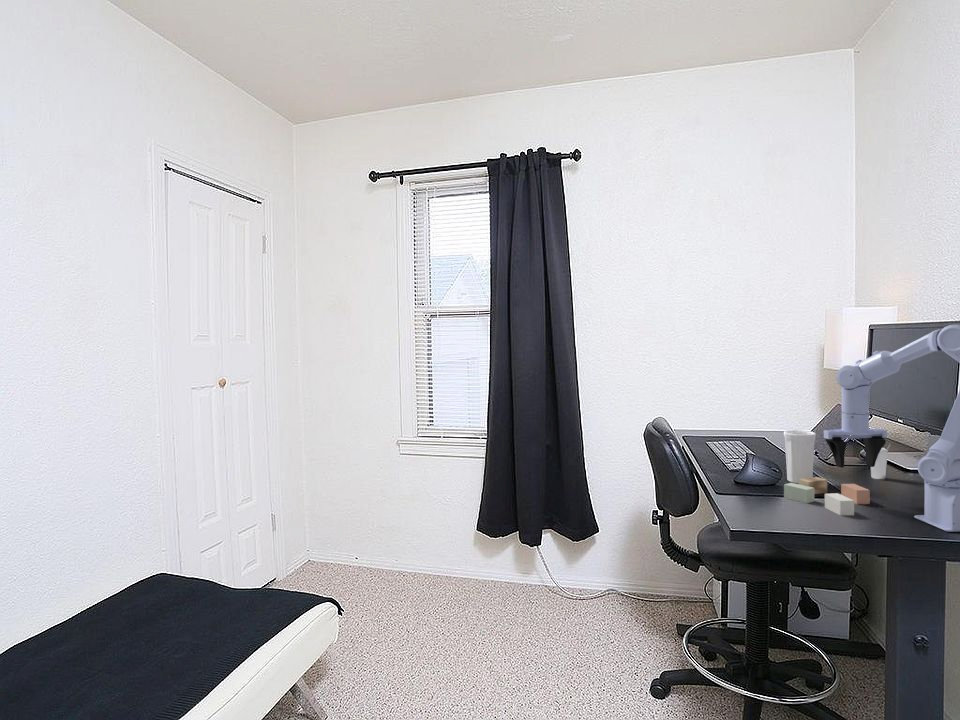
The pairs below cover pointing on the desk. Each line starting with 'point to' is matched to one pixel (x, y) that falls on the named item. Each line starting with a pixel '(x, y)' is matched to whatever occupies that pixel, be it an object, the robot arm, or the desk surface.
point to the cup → (799, 454)
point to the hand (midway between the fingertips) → (855, 466)
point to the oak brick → (815, 484)
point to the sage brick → (799, 492)
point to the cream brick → (839, 504)
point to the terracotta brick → (856, 493)
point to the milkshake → (880, 465)
